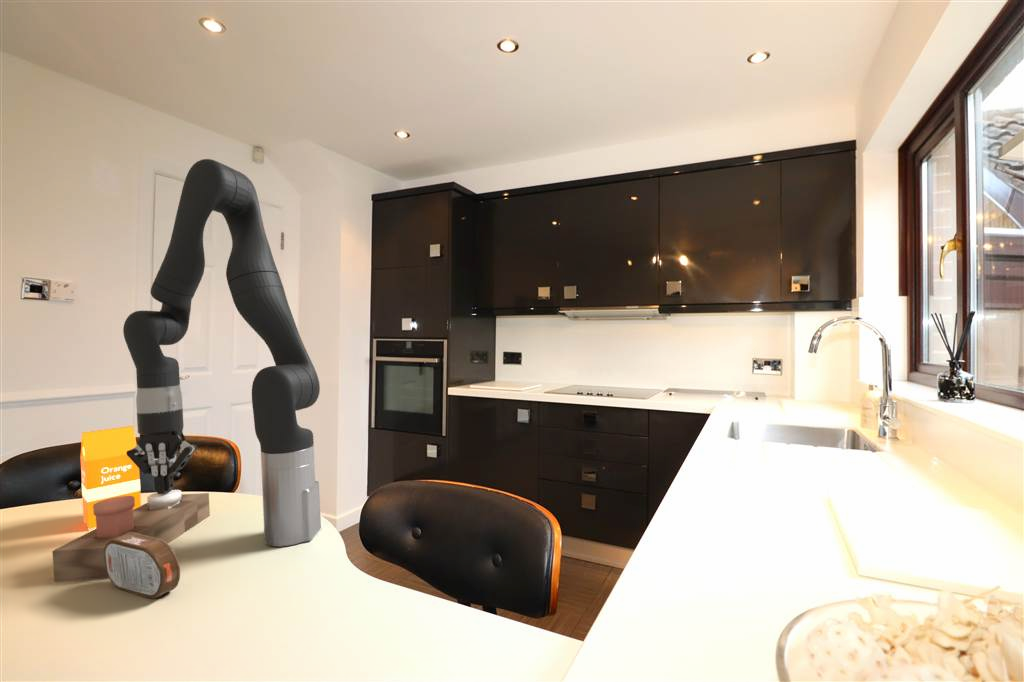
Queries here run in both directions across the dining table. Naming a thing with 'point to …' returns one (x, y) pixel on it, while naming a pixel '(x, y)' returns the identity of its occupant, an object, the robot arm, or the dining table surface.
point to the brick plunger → (114, 516)
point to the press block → (166, 524)
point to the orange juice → (107, 468)
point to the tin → (141, 565)
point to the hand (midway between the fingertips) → (164, 492)
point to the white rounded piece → (164, 500)
